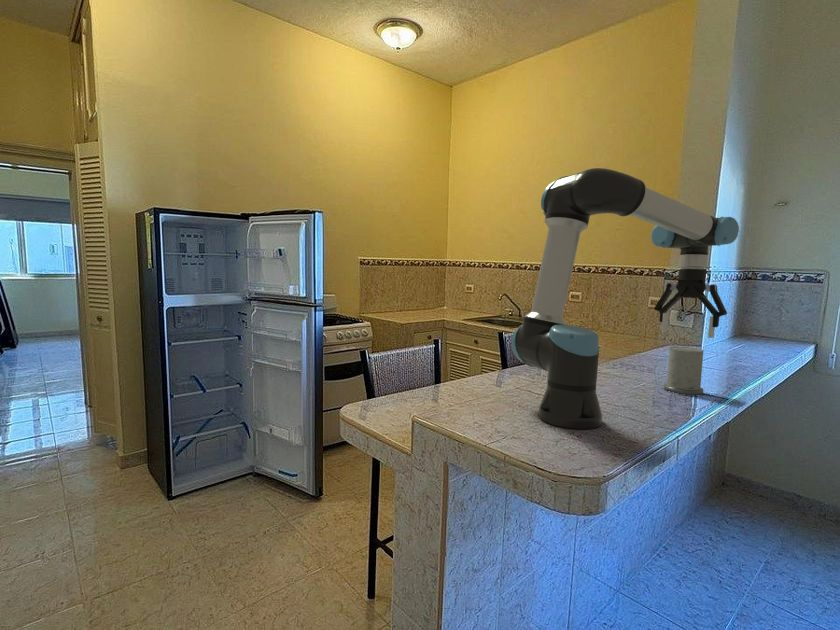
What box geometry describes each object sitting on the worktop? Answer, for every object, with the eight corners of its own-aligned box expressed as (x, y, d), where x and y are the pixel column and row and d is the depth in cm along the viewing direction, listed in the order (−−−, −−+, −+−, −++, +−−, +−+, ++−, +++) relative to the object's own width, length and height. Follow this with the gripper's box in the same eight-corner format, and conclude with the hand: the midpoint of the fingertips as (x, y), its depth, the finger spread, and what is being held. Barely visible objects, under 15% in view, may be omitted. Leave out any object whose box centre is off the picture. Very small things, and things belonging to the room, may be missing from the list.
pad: (663, 392, 140) (663, 387, 140) (664, 385, 150) (664, 380, 150) (703, 397, 135) (704, 392, 135) (702, 390, 144) (702, 385, 144)
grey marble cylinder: (699, 391, 135) (702, 352, 134) (664, 386, 141) (667, 349, 140) (701, 386, 143) (705, 349, 142) (668, 381, 149) (671, 345, 148)
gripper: (743, 269, 132) (736, 339, 133) (656, 269, 151) (651, 329, 153) (735, 268, 127) (728, 340, 129) (646, 268, 146) (641, 330, 148)
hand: (686, 335), depth 141 cm, fingers open, 13 cm apart
